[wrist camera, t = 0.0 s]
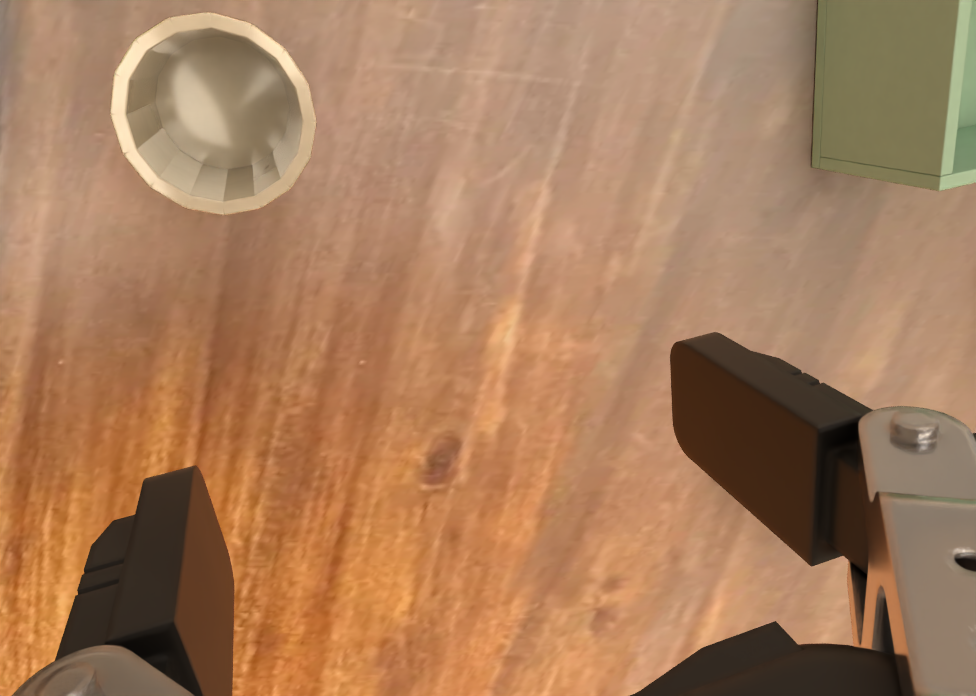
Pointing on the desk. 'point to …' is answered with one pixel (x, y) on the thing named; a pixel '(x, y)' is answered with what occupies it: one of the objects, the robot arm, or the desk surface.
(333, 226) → the desk surface
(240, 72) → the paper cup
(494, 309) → the desk surface
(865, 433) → the robot arm
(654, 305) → the desk surface
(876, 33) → the bin
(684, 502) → the desk surface
